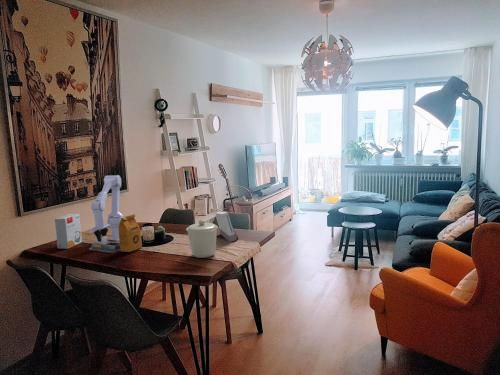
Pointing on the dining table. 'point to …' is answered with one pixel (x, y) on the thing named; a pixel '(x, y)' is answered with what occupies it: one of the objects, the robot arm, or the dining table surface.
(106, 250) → the frame
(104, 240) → the white rectangular block
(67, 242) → the hard drive box
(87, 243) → the dining table surface
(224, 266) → the dining table surface
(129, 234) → the coffee package
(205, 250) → the canister
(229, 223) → the gaming console
